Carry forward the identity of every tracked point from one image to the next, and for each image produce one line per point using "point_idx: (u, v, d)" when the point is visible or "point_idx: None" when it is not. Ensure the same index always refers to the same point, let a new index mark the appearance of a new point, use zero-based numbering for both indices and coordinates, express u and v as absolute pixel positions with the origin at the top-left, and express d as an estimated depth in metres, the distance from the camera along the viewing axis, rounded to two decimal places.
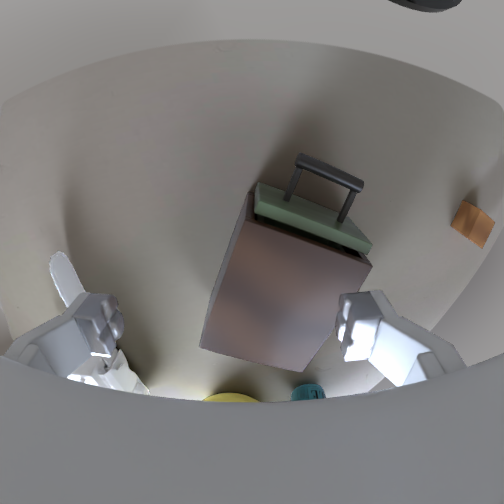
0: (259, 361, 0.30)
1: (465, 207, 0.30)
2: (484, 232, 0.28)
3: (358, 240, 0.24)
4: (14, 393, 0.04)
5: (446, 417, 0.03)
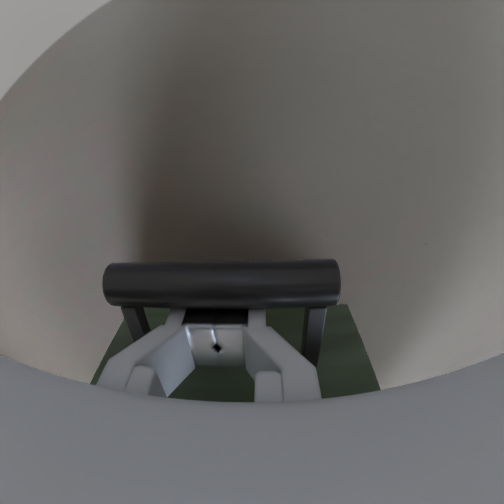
0: None
1: None
2: None
3: None
4: (14, 393, 0.04)
5: (446, 417, 0.03)
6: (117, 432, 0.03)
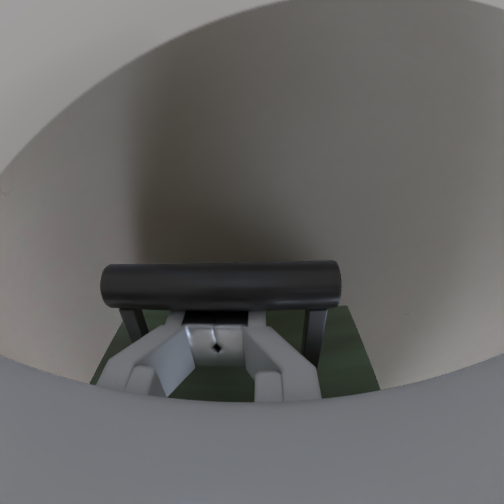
0: None
1: None
2: None
3: None
4: (14, 393, 0.04)
5: (446, 417, 0.03)
6: (117, 432, 0.03)
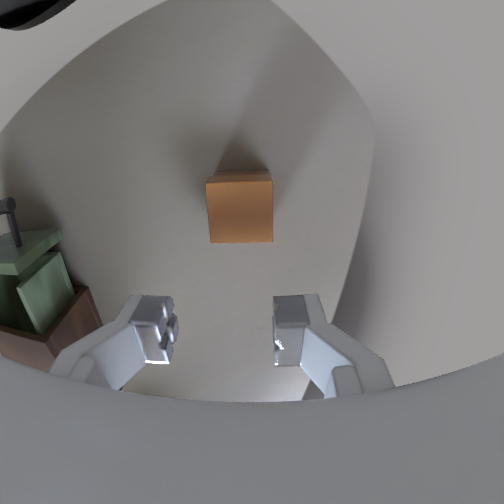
0: None
1: None
2: (251, 213, 0.19)
3: (4, 264, 0.16)
4: (14, 393, 0.04)
5: (446, 417, 0.03)
6: (117, 432, 0.03)
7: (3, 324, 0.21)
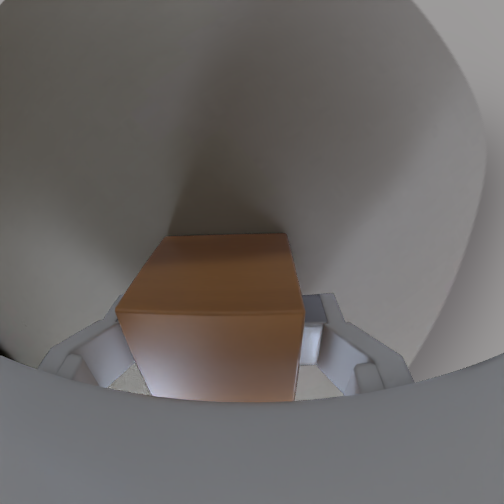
0: None
1: None
2: (244, 378, 0.07)
3: None
4: (14, 393, 0.04)
5: (446, 417, 0.03)
6: (117, 432, 0.03)
7: None
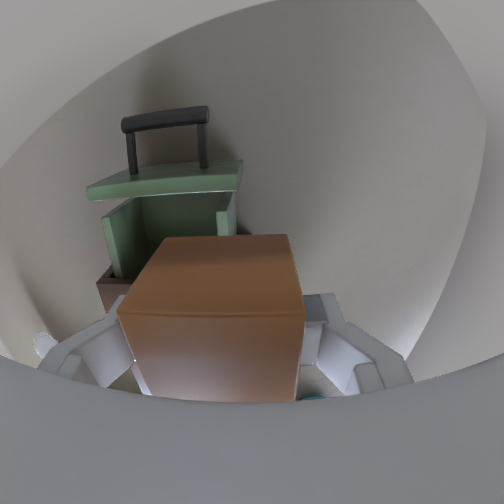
0: None
1: None
2: (245, 379, 0.07)
3: (211, 177, 0.17)
4: (14, 393, 0.04)
5: (446, 417, 0.03)
6: (117, 432, 0.03)
7: None
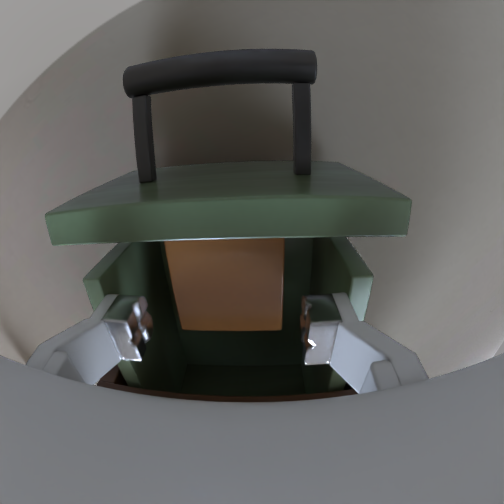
0: None
1: None
2: (246, 290, 0.11)
3: (362, 202, 0.07)
4: (14, 393, 0.04)
5: (446, 417, 0.03)
6: (117, 432, 0.03)
7: (148, 379, 0.12)
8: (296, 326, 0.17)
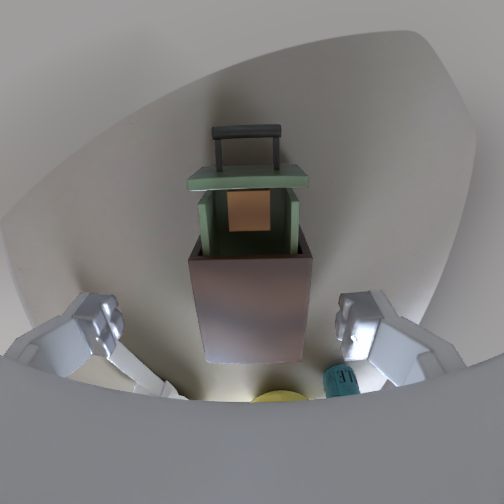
0: (259, 361, 0.35)
1: None
2: (256, 211, 0.29)
3: (291, 177, 0.25)
4: (14, 393, 0.04)
5: (446, 417, 0.03)
6: (117, 432, 0.03)
7: None
8: (279, 244, 0.36)
